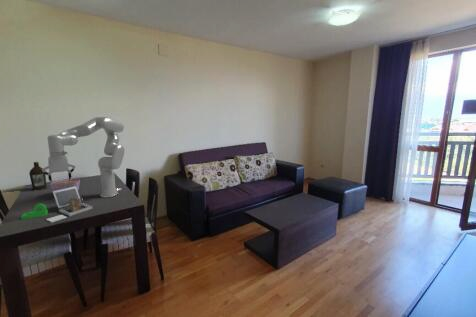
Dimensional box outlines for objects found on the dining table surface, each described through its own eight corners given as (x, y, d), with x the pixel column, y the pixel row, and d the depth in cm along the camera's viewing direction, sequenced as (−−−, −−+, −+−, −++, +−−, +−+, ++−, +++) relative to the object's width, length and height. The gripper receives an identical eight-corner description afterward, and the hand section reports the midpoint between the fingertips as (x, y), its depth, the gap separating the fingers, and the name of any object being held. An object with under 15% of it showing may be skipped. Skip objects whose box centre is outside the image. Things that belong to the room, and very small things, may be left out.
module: (78, 208, 157) (76, 196, 156) (81, 210, 155) (80, 198, 153) (70, 211, 153) (68, 199, 151) (73, 212, 150) (72, 200, 149)
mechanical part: (48, 212, 151) (46, 200, 150) (46, 215, 146) (44, 203, 145) (24, 215, 145) (22, 204, 144) (21, 219, 140) (19, 207, 139)
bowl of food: (87, 192, 193) (86, 179, 191) (66, 200, 174) (64, 185, 172) (67, 191, 196) (65, 178, 194) (44, 198, 177) (42, 184, 175)
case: (79, 203, 167) (77, 185, 165) (94, 208, 158) (92, 189, 155) (55, 210, 154) (52, 191, 151) (69, 216, 144) (67, 195, 142)
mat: (61, 215, 145) (61, 214, 145) (66, 217, 142) (66, 216, 142) (46, 220, 138) (46, 219, 138) (51, 222, 135) (51, 221, 135)
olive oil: (31, 189, 200) (27, 162, 196) (47, 187, 208) (43, 160, 204) (32, 192, 193) (27, 163, 189) (48, 189, 200) (44, 162, 196)
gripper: (73, 152, 152) (76, 177, 155) (39, 154, 141) (43, 181, 144) (74, 153, 147) (77, 179, 149) (39, 156, 136) (43, 183, 138)
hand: (60, 180), depth 147 cm, fingers open, 9 cm apart
